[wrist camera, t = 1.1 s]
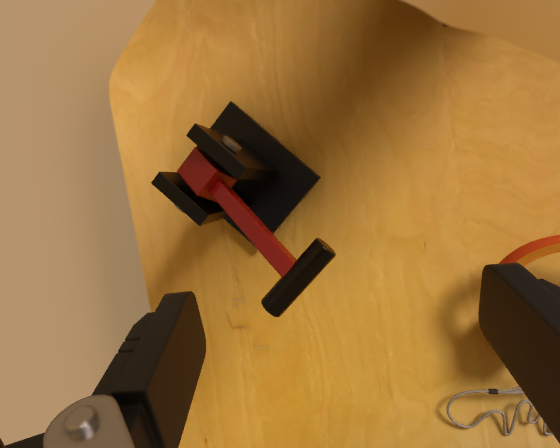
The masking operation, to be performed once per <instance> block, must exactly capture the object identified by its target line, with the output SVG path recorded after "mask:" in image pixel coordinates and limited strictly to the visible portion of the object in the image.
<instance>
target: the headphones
mask: <svg viewBox="0 0 560 448" xmlns="http://www.w3.org/2000/svg"><path fill="white" fill-rule="evenodd" d="M556 252H560V235H556V236H550V237H546V238H542V239H539V240H536V241H533V242H530V243H528V244H526V245H524V246H521V247H519V248H518V249H516V250H515V251H513V252H512V253H510V254H509V255H508V256H506V257H505V258H504V259H503V260H502V261H501V262H500V263H499V264H502V263H513V262H517V263H519V264H521V265H522V266H525V265H527V264H528V263H530V262H532V261H534V260H536V259H538V258H540V257H543V256H546V255H549V254H552V253H556ZM520 389H521V388H520V386H519V387H517V388H512V389H505V390H497V389H488V390H471V391H465V392H462V393H459V394H457V395H455V396H454V397H453V398H452V399H451V400H450V401H449V403H448V405H447V408H446V410H447V414H448V417H449V418H450V419H451V421H452V422H453V423H455V424H456V425H458V426H460V427H463V428H472V427H474V426H476V425H477V424H479V423H480V422H481V421H482V420H483V419H484V418H485V417H487V416H488V415H489V414H491V413H495V412H498V413H501V414H502V417H503V430H504V434H505V435H507V436H509V435H511V433H512V431H513V428H514V425H515V421H516V417H517V414H518V410H519V408H520V406H521V405H522V404H523V403H526V402H527V403H529V404H530V409H529V413H528V417H527V421H528V422H529V423H531V424H534V423H536V422H537V421H538V420H539V419H540V417H541V416H540V415H539V413H538V416H537V417H536V419H535V420H534V421H530V418H531V413H532V409H533V405H532V403H531V402H530V401H529V400H522V401H520V402H519V403H518V404H517V407H516V410H515V413H514V417H513V421H512V425H511V428H510V431H509V432H508V433H507V432H506V418H505V414H504V413H503V412H502V411H500V410H491V411H488V412H487V413H485V414H484V415H483V416H482V417H481V418H480V419H479V420H478V421H476V422H475V423H474V424H472V425H462V424H459V423H458V422H456V421H455V420H453V418H452V417H451V415H450V413H449V407H450V405H451V403H452V402H453V401H454V400H455V399H456V398H457V397H459V396H462V395H465V394H469V393H479V392H485V393H489V394H498V393H503V394H519V393H524V392H523V390H522V391H517V390H520ZM543 433H544V434H545V435H548V436H549V435H553V433H552V432H550V433H547V432H546V423H545V422H544V425H543Z"/></svg>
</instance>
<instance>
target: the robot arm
mask: <svg viewBox="0 0 560 448" xmlns="http://www.w3.org/2000/svg"><path fill="white" fill-rule="evenodd" d="M479 323H480V327H481V330H482V332H483V334H484V336H485V338H486V339H487V340H488V342H489V343H490V345H491V346H492V348H493V349H494V350H495V352H496V353H497V355H498V356H499V358H500V359H501V360H502V362H503V363H504V365H505V366H506V368H507V369H508V370H509V372H510V373H511V375H512V376H513V378H514V379H515V380H516V382H517V383H518V385H519V386H520V388H521V389H522V390H523V392H524V393H525V395H526V396H527V398H528V399H529V400H530V402H531V403H532V405H533V406H534V407H535V409H536V410H537V412H538V413H539V415H540V416H541V417H542V419H543V420H544V422H545V423H546V425H547V426H548V427H549V429H550V430H551V432H552V433H553V435H554V436H555V437H556V439H557V440H558V442H559V443H560V287H558V286H556V285H554V284H552V283H550V282H548V281H546V280H544V279H537V278H536V277H534V276H533V275H532V274H531V273H530V272H529V271H528V270H527V269H525V268H524V267H523V266H522V265H521V264H519V263H517V262H513V263H502V264H491V265H486V266H485V267H484V269H483V272H482V281H481V292H480V302H479ZM205 354H206V338H205V333H204V329H203V325H202V321H201V317H200V313H199V309H198V305H197V301H196V297H195V295H194V293H193V292H192V291H189V292H178V293H167V294H165V295H164V296H163V298H162V300H161V302H160V303H159V305H158V307H157V309H156V311H155V312H152V313H147V314H146V315H145V316H144V317H142V318H141V319H140V320H139V321H138V322H137V323H136V324H134V325H133V327H132V329H131V330H130V332H129V334H128V336H127V337H126V339H125V342H123V344H122V345H121V347H120V349H119V350H118V354H116V355H115V357H114V359H113V360H112V362H111V364H110V365H109V367H108V369H107V370H106V372H105V374H104V375H103V377H102V379H101V380H100V382H99V384H98V385H97V387H96V389H95V390H94V392H93V394H92V395H91V396H89V397H86V398H83V399H81V400H79V401H76V402H75V403H73V404H71V405H70V406H68V407H67V408H65V409H64V410H63V411H62V412H60V413H59V414H58V415H57V416H56V417H55V418H54V420H53V421H52V422H51V423H50V425H49V426H48V428H47V429H46V432H45V433H42V434H39V435H36V436H33V437H30V438H27V439H24V440H21V441H18V442H15V443H12V444H9V445H6V446H4V444H3V442H2V440H1V439H0V448H178V447H179V443H180V440H181V436H182V433H183V430H184V426H185V423H186V420H187V416H188V413H189V409H190V406H191V403H192V399H193V396H194V392H195V389H196V386H197V382H198V379H199V375H200V372H201V369H202V365H203V362H204V358H205Z"/></svg>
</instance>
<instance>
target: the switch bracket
mask: <svg viewBox="0 0 560 448" xmlns="http://www.w3.org/2000/svg"><path fill="white" fill-rule="evenodd" d="M186 136H187V137H188V138H190V139H191V140H192V141H193V142H194V143H195V144H196V145H197V148H199V149H201V150H203V151H204V152H206V153H207V154H208V155H209V156H210V157H211V158H213V159H214V160H215V161H216V162H217V163H218V164H219V165H221V166H222V167H223V168H224V169H225V170H226V171H227V172H229V173H230V174H231V175H232V176H233V177H234V178H235V179H237V181H236V183H235V184H234V185H233V186H232V190H233V191H234V192H235V193H236V194H237V195H238V196H239V197H240V198H241V199H242V201H243V202H244V203H245V204H246V205H247V206H248V207H249V208H250V209H251V210H252V212H253V213H254V214H255V215H256V216H257V217H258V218H259V219H260V220H261V221H262V223H263V224H264V225H265V226H266V227H267V228H268V229H269V230H270V231H271V232H272V233H274V232H275V231H276V230H277V229H278V227H279V226H280V225H281V224H282V223H283V222H284V220H285V219H286V218H287V217H288V216H289V215H290V213H291V212H292V211H293V210H294V209H295V208H296V206H297V205H298V204H299V203H300V202H301V201H302V199H303V198H304V197H305V196H306V195H307V194H308V192H309V191H310V190H311V189H312V188H313V186H314V185H315V184H316V183H317V182H318V181H319V179H320V178H321V177H320V176H319V175H317V174H316V173H315V172H314V171H313V170H312V169H310V168H309V167H308V166H307V165H306V164H305V163H303V162H302V161H301V160H300V159H299V158H298V157H296V156H295V155H294V154H293V153H292V152H291V151H289V150H288V149H287V148H286V147H285V146H284V145H282V144H281V143H280V142H279V141H278V140H277V139H275V138H274V137H273V136H272V135H271V134H270V133H268V132H267V131H266V130H265V129H264V128H263V127H261V126H260V125H259V124H258V123H257V122H256V121H254V120H253V119H252V118H251V117H250V116H249V115H247V114H246V113H245V112H244V111H243V110H242V109H240V108H239V107H238V106H237V105H236V104H234V103H233V102H231V101H230V103H229V104H228V105H227V107H226V108H225V109H224V111H223V112H222V113H221V115H220V116H219V117H218V119H217V120H216V121H215V123H214V124H213V125H212V127H211V128H210V129H209V128H207V127H204V126H201V125H198V124H194V125H193V127H192V128H191V130H190V131H189V132H188V134H187V135H186ZM151 183H152V184H153V185H154V186H155V187H156V188H157V189H158V190H159V191H161V192H162V193H163V194H164V195H165V196H166V197H167V198H168V199H170V200H171V201H172V202H173V203H174V204H175V206H176V207H177V208H178V209H179V210H180V211H182V212H183V213H185V214H187V215H188V216H189V217H190V218H191V219H192V220H193V221H194V222H196V223H197V224H198V225H199V226H201V225H205V224H208V223H211V222H214V221H217V220H220V219H223V218H224V219H225V220H226V221H227V222H228V223H229V224H231V225H232V226H233V227H234V228H235V229H236V230H237V231H239V232H240V233H241V234H242V235H243V236H244V237H245V238H246V239H248V240H249V238H248V237H247V236H246V235H245V234H244V233H243V231H242V230H241V229H240V228H239V227H238V226H237V224H236V223H235V222H234V221H233V220H232V219H231V217H230V216H229V215H228V214H227V213H226V212H225V210H224V209H223V208H222V207H221V206H220V205H219V203H217V202H214V201H211V200H208V199H205V198H202V197H200V196H197V195H196V194H195V193H194V191H193V190H192V189H191V188H190V187H189V185H188V184H187V183H186V182H185V181H184V179H183V178H182V177H181V176H180V175H179V173H178V172H159V173H158V174H157V176H156V177H155V178H154V180H153V181H152V182H151ZM249 241H250V240H249ZM250 242H251V241H250ZM251 243H252V242H251ZM252 244H253V243H252ZM253 245H254V244H253ZM254 246H255V245H254Z"/></svg>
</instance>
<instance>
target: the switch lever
mask: <svg viewBox="0 0 560 448" xmlns="http://www.w3.org/2000/svg"><path fill="white" fill-rule="evenodd" d="M177 172H178V173H179V175H180V176H181V177H182V178H183V179H184V181H185V182H186V183H187V184H188V185H189V187H190V188H191V189H192V190H193V191H194V193H195V194H196V195H197V196H200V197H202V198H205V199H208V200H211V201H214V202H217V203H219V205H220V206H221V207H222V208H223V209H224V210H225V212H226V213H227V214H228V215H229V216H230V217H231V219H232V220H233V221H234V222H235V223H236V224H237V226H238V227H239V228H240V229H241V230H242V231H243V233H244V234H245V235H246V236H247V237H248V238H249V240H250V241H251V242H252V243H253V244H254V245H255V247H256V248H257V249H258V250H259V251H260V252H261V254H262V255H263V256H264V257H265V258H266V259H267V260H268V262H269V263H270V264H271V265H272V266H273V267H274V269H275V270H276V271H277V272H278V273H279V274H280V276H281V279H280V280H279V281H278V282H277V283H276V284H275V285H274V286H273V288H272V289H271V290H270V291H269V292H268V293H267V294H266V295H265V297H264V298H263V299H262V301H261V303H262V305H263V307H264V308H265V310H266V311H267V312H268V313H270V314H271V315H273V316H275V317H280V316H281V315H282V314H283V313H284V311H285V310H286V309H287V308H288V307H289V306H290V305H291V304H292V303H293V302H294V301H295V299H296V298H297V297H298V296H299V295H300V294H301V293H302V292H303V291H304V290H305V288H306V287H307V286H308V285H309V284H310V283H311V282H312V281H313V280H314V279H315V278H316V276H317V275H318V274H319V273H320V272H321V271H322V270H323V269H324V268H325V267H326V265H327V264H328V263H329V262H330V261H331V260H332V259H333V258H334V257H335V255H336V254H335V252H334V250H333V249H332V248H331V247H330V246H329V245H328V244H327V243H325V242H324V241H323V240H321V239H319V238H316V239H315V240H314V241H313V242H312V244H311V245H310V246H309V247H308V248H307V249H306V250H305V251H304V253H303V254H302V255H301V256H300V257H299V258H298V259H297V260H296V259H295V258H294V257H293V255H292V254H291V253H290V252H289V251H288V250H287V249H286V248H285V247H284V246H283V244H282V243H281V242H280V241H279V240H278V239H277V238H276V237H275V236H274V235H273V233H272V232H271V231H270V230H269V229H268V228H267V227H266V226H265V225H264V224H263V223H262V221H261V220H260V219H259V218H258V217H257V216H256V215H255V214H254V213H253V212H252V210H251V209H250V208H249V207H248V206H247V205H246V204H245V203H244V202H243V201H242V199H241V198H240V197H239V196H238V195H237V194H236V193H235V192H234V191H233V190H232V186H233V185H234V184H235V183H236V181H237V179H235V178H234V177H233V176H232V175H231V174H230V173H229V172H227V171H226V170H225V169H224V168H223V167H222V166H221V165H219V164H218V163H217V162H216V161H215V160H214V159H213V158H211V157H210V156H209V155H208V154H207V153H206V152H204V151H203V150H201V149H199V148H197V147H195V148H194V149H193V150H192V152H191V153H190V154H189V156H188V157H187V158H186V160H185V161H184V162H183V164H182V165H181V166H180V168H179V169H178V170H177Z"/></svg>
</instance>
